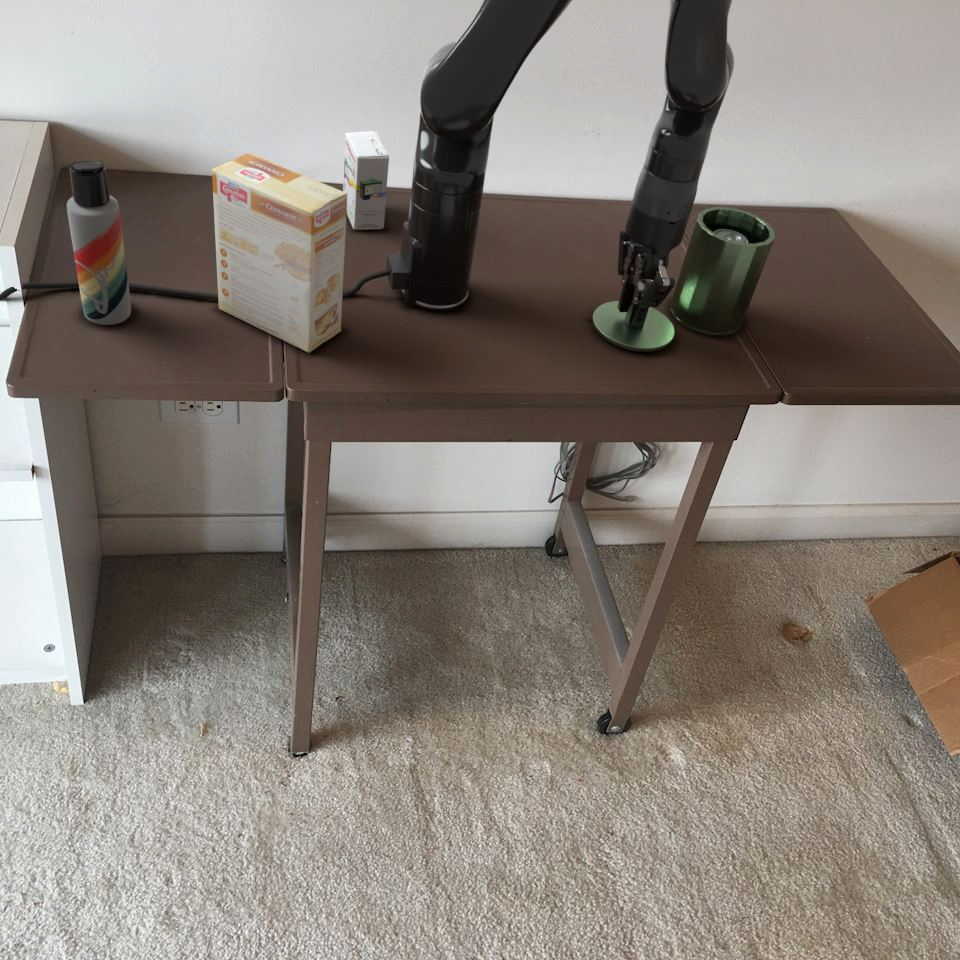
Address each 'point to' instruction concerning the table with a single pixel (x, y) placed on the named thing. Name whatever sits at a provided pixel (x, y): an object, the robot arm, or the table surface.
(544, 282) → the table surface
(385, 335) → the table surface
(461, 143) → the robot arm
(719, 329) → the trash can
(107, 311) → the lotion bottle
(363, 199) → the ink box
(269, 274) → the coffeecake box
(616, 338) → the bin lid
